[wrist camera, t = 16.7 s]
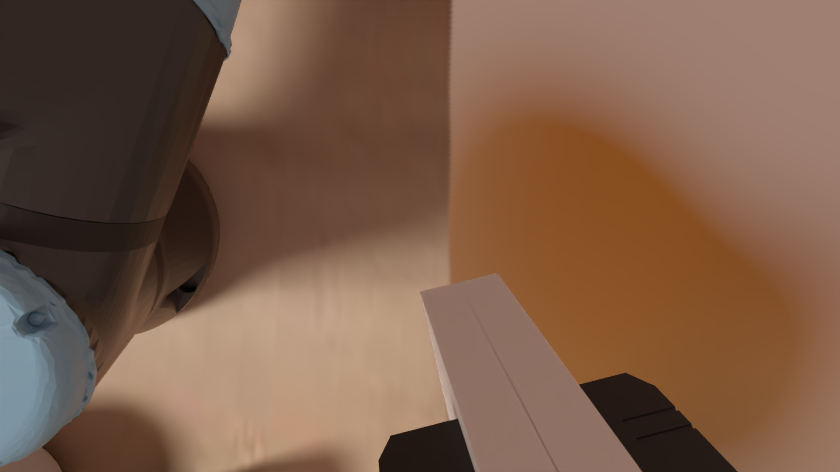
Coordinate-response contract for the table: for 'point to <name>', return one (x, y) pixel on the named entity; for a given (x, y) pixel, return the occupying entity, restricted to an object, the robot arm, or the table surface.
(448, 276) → the table surface
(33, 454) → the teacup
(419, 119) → the table surface
